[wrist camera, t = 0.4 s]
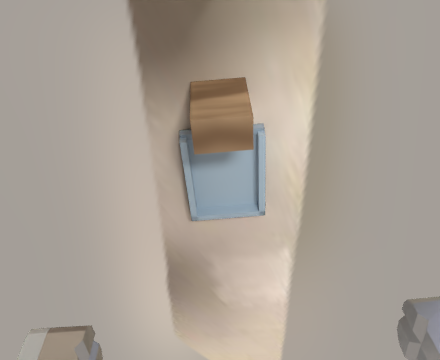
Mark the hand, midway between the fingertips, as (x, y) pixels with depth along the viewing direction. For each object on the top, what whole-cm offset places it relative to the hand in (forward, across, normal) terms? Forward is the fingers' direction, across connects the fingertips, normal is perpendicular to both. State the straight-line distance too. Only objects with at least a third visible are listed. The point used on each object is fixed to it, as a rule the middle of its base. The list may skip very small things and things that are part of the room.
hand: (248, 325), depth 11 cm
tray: (+38, 0, +20) cm, 43 cm away
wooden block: (+37, 0, +9) cm, 38 cm away
